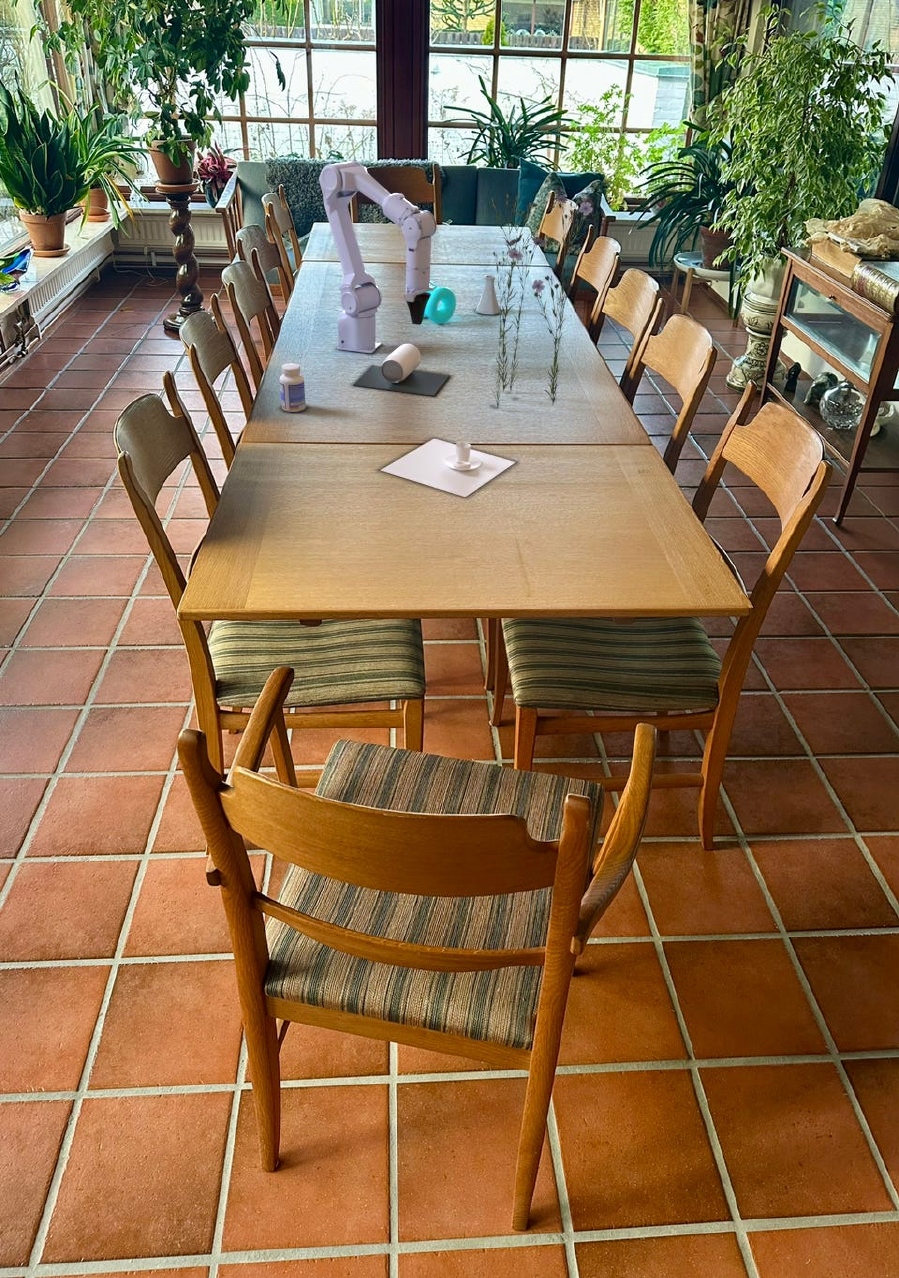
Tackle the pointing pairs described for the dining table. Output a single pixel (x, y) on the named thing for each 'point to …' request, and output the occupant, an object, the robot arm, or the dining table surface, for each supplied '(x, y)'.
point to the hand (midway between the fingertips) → (417, 323)
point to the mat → (403, 382)
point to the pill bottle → (292, 388)
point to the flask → (488, 298)
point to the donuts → (446, 304)
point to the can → (400, 363)
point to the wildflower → (536, 284)
